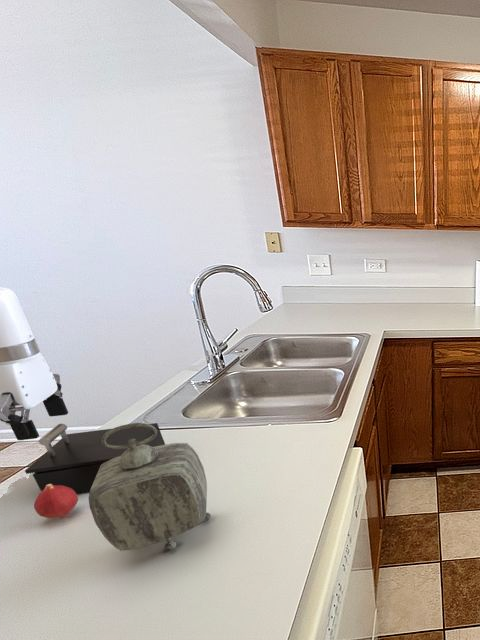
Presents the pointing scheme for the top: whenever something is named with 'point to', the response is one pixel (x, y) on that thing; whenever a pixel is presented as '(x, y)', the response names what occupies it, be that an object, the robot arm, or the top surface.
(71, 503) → the red round piece
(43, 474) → the black shallow rectangular box
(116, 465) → the tabletop clock
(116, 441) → the lid
